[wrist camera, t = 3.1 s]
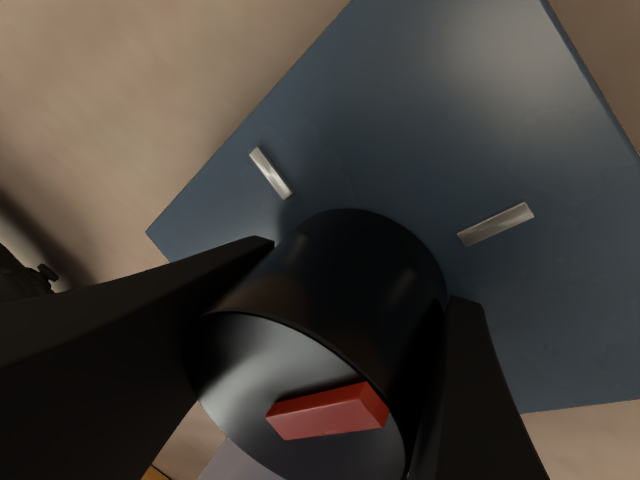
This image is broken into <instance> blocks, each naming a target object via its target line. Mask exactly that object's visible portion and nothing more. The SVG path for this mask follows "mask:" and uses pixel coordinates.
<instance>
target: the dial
mask: <svg viewBox="0 0 640 480" xmlns="http://www.w3.org/2000/svg"><path fill="white" fill-rule="evenodd" d="M447 299H448V295H447V287H446V283H445V279H444V276H443V273H442V271H441V269H440V266H439V264H438V263H437V261H436V259H435V258H434V256H433V255H432V253H431V252H430V250H429V249H428V248H427V247H426V246H425V244H424V243H423V242H422V241H421V240H420V239H419V238H418V237H417V236H416V235H415V234H413V233H412V232H411V231H409V230H408V229H407V228H405V227H404V226H402V225H401V224H399V223H397V222H396V221H394V220H392V219H390V218H387V217H385V216H383V215H380V214H377V213H374V212H371V211H366V210H361V209H351V208H341V209H332V210H327V211H323V212H320V213H318V214H315V215H313V216H311V217H310V218H308V219H306V220H305V221H304V222H302V223H301V224H300V225H299V226H298V227H297V228H295V229H294V230H293V231H292V232H291V233H290V234H289V235H288V236H287V237H286V238H284V239H283V240H282V241H281V242H280V243H279V244H278V245H277V246H276V247H275V248H273V249H272V250H271V251H270V252H269V253H268V254H267V255H266V256H265V257H263V258H262V259H261V260H260V261H259V262H258V263H257V264H256V265H255V266H254V267H252V268H251V269H250V270H249V271H248V272H247V273H246V274H245V275H244V276H243V277H241V278H240V279H239V280H238V281H237V282H236V283H235V284H234V285H233V286H232V287H230V288H229V289H228V290H227V291H226V292H225V293H224V294H223V295H222V296H221V297H219V298H218V299H217V300H216V301H215V302H214V303H213V304H212V305H211V306H210V307H208V308H207V309H206V310H205V311H204V312H203V313H202V314H201V315H200V316H199V317H197V318H196V319H195V320H194V321H193V323H192V324H191V325H190V326H189V328H188V330H187V333H186V335H185V337H184V341H183V346H182V359H183V366H184V369H185V373H186V376H187V379H188V381H189V384H190V386H191V388H192V390H193V392H194V394H195V396H196V398H197V399H198V401H199V402H200V404H201V406H202V407H203V408H204V410H205V411H206V413H207V414H208V415H209V417H210V418H211V419H212V420H213V421H214V423H215V424H216V425H217V426H218V427H219V428H220V429H221V430H222V432H223V433H224V434H225V435H226V436H227V437H228V438H229V439H230V440H231V441H233V442H234V443H235V444H236V445H237V446H238V447H239V448H240V449H241V450H243V451H244V452H245V453H246V454H247V455H249V456H250V457H251V458H253V459H254V460H255V461H257V462H258V463H260V464H261V465H263V466H264V467H266V468H267V469H269V470H270V471H272V472H274V473H275V474H277V475H279V476H280V477H282V478H284V479H286V480H405V478H406V476H407V474H408V472H409V469H410V465H411V460H412V456H413V452H414V447H415V443H416V439H417V434H418V430H419V426H420V421H421V417H422V413H423V409H424V404H425V400H426V396H427V391H428V387H429V383H430V378H431V374H432V370H433V365H434V361H435V355H436V349H437V344H438V340H439V336H440V331H441V327H442V323H443V319H444V315H445V312H446V308H447Z"/></svg>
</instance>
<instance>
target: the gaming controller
mask: <svg viewBox="0 0 640 480" xmlns="http://www.w3.org/2000/svg"><path fill="white" fill-rule="evenodd" d="M37 268H38V269H39V271H40V272H37V271H36V270H34V269H32V268H27V267H24V266H23V265H22V264H21V263H20V262H19V261H18V260H17V259H16V258H15V257H14V255H13V254H12V253H11V252H10V251H9V250H8V249H7V248H6V247H5V246H3V245H2V244H1V243H0V303H4V302H10V301H16V300H21V299H27V298H32V297H38V296H43V295H49V294H54V293H55V292H54V291H53V290H51V284H50V283H49V282H48V280H49V279H50V280H52V281H53V282H55V281H57V280H58V279H59V277H58V276H57V274H56V273H55V272H54V271H52V270H51V269H50V268H49V267H48V266H46V265H45V264H40V265H39V266H38V267H37Z"/></svg>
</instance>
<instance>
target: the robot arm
mask: <svg viewBox="0 0 640 480" xmlns="http://www.w3.org/2000/svg"><path fill="white" fill-rule="evenodd" d="M273 248H275V241H273V240H270V239H266V238H263V237H260V236H256V235H253V236H249V237H246V238H242V239H239V240H236V241H233V242H230V243H227V244H224V245H221V246H218V247H215V248H212V249H210V250H207V251H204V252H201V253H198V254H195V255H192V256H189V257H187V258H184V259H181V260H178V261H175V262H172V263H169V264H165V265H162V266H159V267H156V268H152V269H149V270H146V271H143V272H140V273H136V274H133V275H130V276H126V277H123V278H119V279H115V280H112V281H108V282H104V283H100V284H96V285H91V286H87V287H83V288H79V289H74V290H69V291H65V292H60V293H54V294H49V295H43V296H38V297H32V298H27V299H21V300H16V301H10V302H4V303H0V480H141V479H142V477H143V476H144V474H145V473H146V471H147V470H148V468H149V467H150V465H151V464H152V462H153V461H154V459H155V458H156V456H157V455H158V453H159V452H160V450H161V449H162V448H163V446H164V445H165V443H166V442H167V441H168V439H169V438H170V436H171V435H172V433H173V432H174V431H175V429H176V428H177V426H178V425H179V424H180V422H181V421H182V419H183V418H184V417H185V415H186V414H187V413H188V411H189V410H190V409H191V408H192V406H193V405H194V404H195V403H196V401H197V400H198V399H197V398H196V396H195V394H194V392H193V390H192V388H191V386H190V384H189V381H188V379H187V376H186V373H185V369H184V366H183V359H182V346H183V341H184V337H185V335H186V333H187V330H188V328H189V326H190V325H191V324H192V323H193V321H194V320H195V319H196V318H197V317H199V316H200V315H201V314H202V313H203V312H204V311H205V310H206V309H207V308H208V307H210V306H211V305H212V304H213V303H214V302H215V301H216V300H217V299H218V298H219V297H221V296H222V295H223V294H224V293H225V292H226V291H227V290H228V289H229V288H230V287H232V286H233V285H234V284H235V283H236V282H237V281H238V280H239V279H240V278H241V277H243V276H244V275H245V274H246V273H247V272H248V271H249V270H250V269H251V268H252V267H254V266H255V265H256V264H257V263H258V262H259V261H260V260H261V259H262V258H263V257H265V256H266V255H267V254H268V253H269V252H270V251H271V250H272V249H273ZM197 480H286V479H284V478H282V477H280V476H279V475H277V474H275V473H274V472H272V471H270V470H269V469H267V468H266V467H264V466H263V465H261V464H260V463H258V462H257V461H255V460H254V459H253V458H251V457H250V456H249V455H247V454H246V453H245V452H244V451H243V450H241V449H240V448H239V447H238V446H237V445H236V444H235V443H234V442H233V441H231V440H230V439H229V438H228V437H226V439H225V440H224V442H223V443H222V445H221V446H220V447H219V449H218V450H217V452H216V453H215V455H214V456H213V457H212V459H211V460H210V462H209V463H208V464H207V466H206V467H205V469H204V470H203V472H202V473H201V474H200V476H199V477H198V479H197ZM408 480H550V478H549V476H548V474H547V472H546V470H545V468H544V466H543V464H542V462H541V460H540V458H539V456H538V454H537V452H536V450H535V448H534V445H533V443H532V441H531V439H530V437H529V434H528V432H527V430H526V428H525V425H524V423H523V421H522V419H521V417H520V414H519V412H518V409H517V407H516V405H515V402H514V400H513V397H512V395H511V392H510V390H509V387H508V384H507V382H506V379H505V377H504V374H503V371H502V369H501V366H500V363H499V360H498V357H497V354H496V351H495V348H494V345H493V342H492V339H491V335H490V332H489V328H488V325H487V321H486V316H485V311H484V308H483V307H482V305H481V304H480V303H477V302H474V301H471V300H467V299H464V298H461V297H458V296H454V295H451V296H450V299H449V302H448V305H447V308H446V312H445V315H444V319H443V323H442V327H441V331H440V336H439V340H438V344H437V349H436V355H435V361H434V365H433V370H432V374H431V378H430V383H429V387H428V391H427V396H426V400H425V404H424V409H423V413H422V417H421V421H420V426H419V430H418V434H417V439H416V443H415V447H414V452H413V456H412V460H411V465H410V469H409V475H408Z"/></svg>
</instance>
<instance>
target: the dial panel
mask: <svg viewBox="0 0 640 480" xmlns="http://www.w3.org/2000/svg"><path fill="white" fill-rule="evenodd" d="M341 208H351V209H361V210H366V211H371V212H374V213H377V214H380V215H383V216H385V217H387V218H390V219H392V220H394V221H396V222H397V223H399V224H401V225H402V226H404V227H405V228H407V229H408V230H409V231H411V232H412V233H413V234H415V235H416V236H417V237H418V238H419V239H420V240H421V241H422V242H423V243H424V244H425V246H426V247H427V248H428V249H429V250H430V252H431V253H432V255H433V256H434V258H435V259H436V261H437V263H438V264H439V266H440V269H441V271H442V273H443V276H444V279H445V283H446V287H447V295H448V299H447V305H448V302H449V299H450V296H451V295H454V296H458V297H461V298H464V299H467V300H471V301H474V302H477V303H480V304H481V305H482V307H483V308H484V311H485V316H486V321H487V325H488V328H489V332H490V335H491V339H492V342H493V345H494V348H495V351H496V354H497V357H498V360H499V363H500V366H501V369H502V371H503V374H504V377H505V379H506V382H507V384H508V387H509V390H510V392H511V395H512V397H513V400H514V402H515V405H516V407H517V409H518V412H519V414H525V413H533V412H541V411H549V410H557V409H565V408H573V407H581V406H590V405H598V404H606V403H614V402H622V401H630V400H638V399H640V157H639V155H638V153H637V152H636V150H635V148H634V146H633V145H632V143H631V141H630V140H629V138H628V136H627V135H626V133H625V131H624V130H623V128H622V126H621V124H620V123H619V121H618V119H617V118H616V116H615V114H614V113H613V111H612V109H611V108H610V106H609V104H608V103H607V101H606V99H605V97H604V96H603V94H602V92H601V91H600V89H599V87H598V86H597V84H596V82H595V81H594V79H593V77H592V75H591V74H590V72H589V70H588V69H587V67H586V65H585V64H584V62H583V60H582V59H581V57H580V55H579V53H578V52H577V50H576V48H575V47H574V45H573V43H572V42H571V40H570V38H569V37H568V35H567V33H566V31H565V30H564V28H563V26H562V25H561V23H560V21H559V20H558V18H557V16H556V15H555V13H554V11H553V9H552V8H551V6H550V4H549V3H548V1H547V0H351V1H350V2H349V3H348V4H347V6H346V7H345V8H344V9H343V10H342V11H341V12H340V13H339V15H338V16H337V17H336V18H335V19H334V20H333V21H332V22H331V23H330V25H329V26H328V27H327V28H326V29H325V30H324V31H323V32H322V34H321V35H320V36H319V37H318V38H317V39H316V40H315V41H314V43H313V44H312V45H311V46H310V47H309V48H308V49H307V50H306V52H305V53H304V54H303V55H302V56H301V57H300V58H299V59H298V61H297V62H296V63H295V64H294V65H293V66H292V67H291V68H290V69H289V71H288V72H287V73H286V74H285V75H284V76H283V77H282V78H281V80H280V81H279V82H278V83H277V84H276V85H275V86H274V87H273V89H272V90H271V91H270V92H269V93H268V94H267V95H266V96H265V98H264V99H263V100H262V101H261V102H260V103H259V104H258V105H257V106H256V108H255V109H254V110H253V111H252V112H251V113H250V114H249V115H248V117H247V118H246V119H245V120H244V121H243V122H242V123H241V124H240V126H239V127H238V128H237V129H236V130H235V131H234V132H233V133H232V135H231V136H230V137H229V138H228V139H227V140H226V141H225V142H224V144H223V145H222V146H221V147H220V148H219V149H218V150H217V151H216V152H215V154H214V155H213V156H212V157H211V158H210V159H209V160H208V161H207V163H206V164H205V165H204V166H203V167H202V168H201V169H200V170H199V172H198V173H197V174H196V175H195V176H194V177H193V178H192V179H191V181H190V182H189V183H188V184H187V185H186V186H185V187H184V188H183V189H182V191H181V192H180V193H179V194H178V195H177V196H176V197H175V198H174V200H173V201H172V202H171V203H170V204H169V205H168V206H167V207H166V209H165V210H164V211H163V212H162V213H161V214H160V215H159V216H158V218H157V219H156V220H155V221H154V222H153V223H152V224H151V225H150V226H149V228H148V229H147V230H146V231H145V233H146V234H147V236H148V237H149V238H150V239H151V240H152V242H153V243H154V244H155V245H156V246H157V247H158V249H159V250H160V251H161V252H162V253H163V255H164V256H165V257H166V258H167V259H168V260H169V262H170V263H172V262H175V261H178V260H181V259H184V258H187V257H189V256H192V255H195V254H198V253H201V252H204V251H207V250H210V249H212V248H215V247H218V246H221V245H224V244H227V243H230V242H233V241H236V240H239V239H242V238H246V237H249V236H253V235H256V236H260V237H263V238H266V239H270V240H273V241H275V247H276V246H277V245H278V244H279V243H280V242H281V241H282V240H283V239H284V238H286V237H287V236H288V235H289V234H290V233H291V232H292V231H293V230H294V229H295V228H297V227H298V226H299V225H300V224H301V223H302V222H304V221H305V220H306V219H308V218H310V217H311V216H313V215H315V214H318V213H320V212H323V211H327V210H332V209H341Z"/></svg>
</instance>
